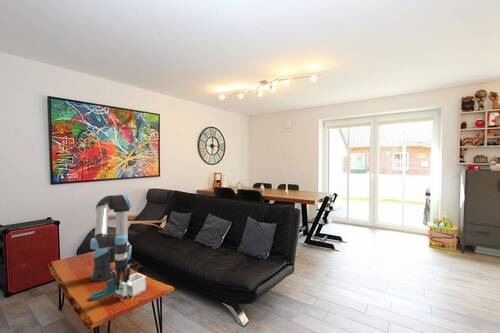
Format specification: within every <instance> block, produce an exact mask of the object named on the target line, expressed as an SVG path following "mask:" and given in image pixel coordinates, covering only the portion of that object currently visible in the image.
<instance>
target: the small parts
mask: <svg viewBox="0 0 500 333" xmlns="http://www.w3.org/2000/svg"><path fill="white" fill-rule="evenodd" d="M117 296H118V294H117V293H116V290H115V293H113V298H115V299H116V298H117ZM125 297H126V299H129V298H130V295H129V294H127V295H126V296H125ZM123 298H124V297H123V296H120V298H119V301H120V302H123Z"/></svg>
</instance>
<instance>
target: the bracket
mask: <svg viewBox="0 0 500 333" xmlns="http://www.w3.org/2000/svg"><path fill="white" fill-rule="evenodd" d="M115 290H116V286H115V285H113V280H112V278H109V279H108V281H107V282H106V288H104V289H101V290H99V291H97V292H94V293H91V294H90V298H89V300H90V301H99V300H101V299H104V298H106V297H108V296H111V295H114V294H115Z"/></svg>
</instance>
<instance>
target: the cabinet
mask: <svg viewBox="0 0 500 333" xmlns="http://www.w3.org/2000/svg"><path fill="white" fill-rule="evenodd" d="M145 291H147V276H146V275H144V274H141V273H139V272H135V273H133V274H130V277H129V280H128V281H127V294H128V295H129V296H131V297H135V296H138V295H140V294H141V293H143V292H145Z"/></svg>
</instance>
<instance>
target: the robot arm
mask: <svg viewBox="0 0 500 333" xmlns="http://www.w3.org/2000/svg"><path fill="white" fill-rule="evenodd" d="M130 209H132V202H131V197H130V195H129V194H116V195H113V194H112V195H106V196H104V197H102V198H101V199H100V200H98V202H97V204H96V205H95V209H94V210H95V214H96V219H95V226H94V228H95V229H94V230H95V231H94V237H93V238H90V243H89V245H90V246H89V247H90V250H94V251H93V270H92V273H91V276H90V279H91V282H103V281H107V280H110V279H112V280H113V285H115V286H116V290H117V295H118V296H121V290H120V288H121V285H120V280H121V276H122V281H124V282H126V283H127V281H128V280H129V277H130V275H131V269H132V265H131V264H128V261H129V260H130V259H131V255H132V247H133V246H132V245H131V244H130V242H129V240H128V239H129V238H128V237H129V236H128V235H129V234H128V231H129V230H128V229H129V228H128V225H129V223H128V217H129V216H128V213H129V212H130ZM111 210H112V211H113V213H114V214H115V235H109V236H108V224H109V223H108V222H109V212H110V211H111ZM113 263H114V269H113V268H112V265H111V264H113Z"/></svg>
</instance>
